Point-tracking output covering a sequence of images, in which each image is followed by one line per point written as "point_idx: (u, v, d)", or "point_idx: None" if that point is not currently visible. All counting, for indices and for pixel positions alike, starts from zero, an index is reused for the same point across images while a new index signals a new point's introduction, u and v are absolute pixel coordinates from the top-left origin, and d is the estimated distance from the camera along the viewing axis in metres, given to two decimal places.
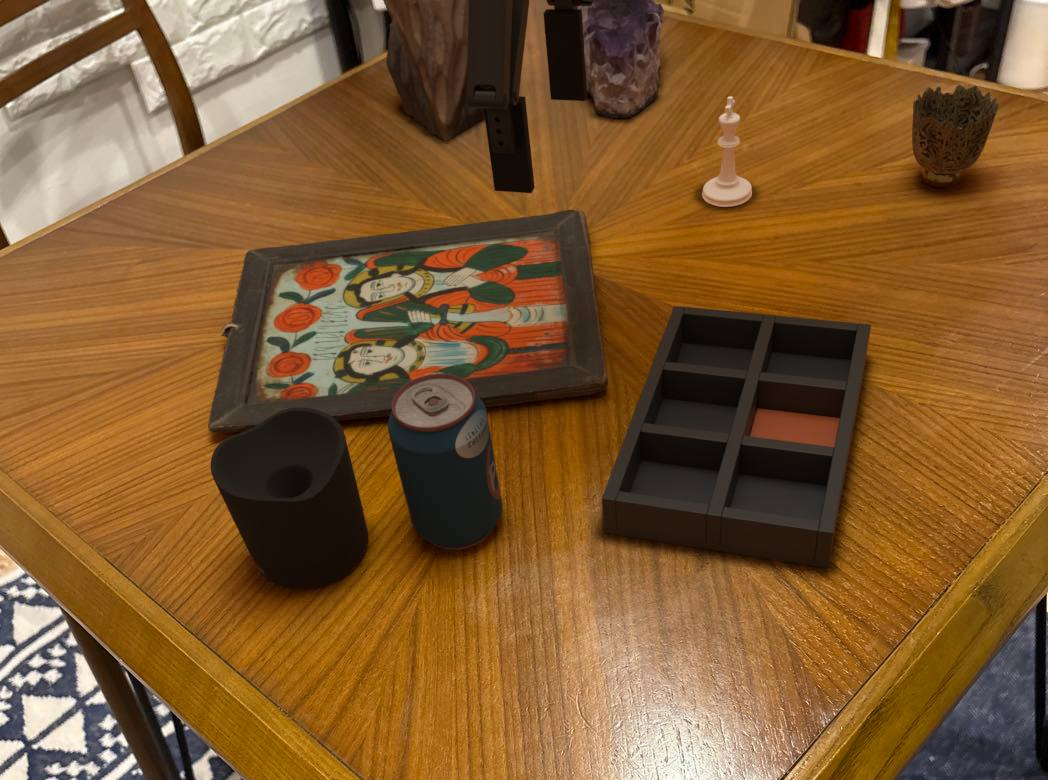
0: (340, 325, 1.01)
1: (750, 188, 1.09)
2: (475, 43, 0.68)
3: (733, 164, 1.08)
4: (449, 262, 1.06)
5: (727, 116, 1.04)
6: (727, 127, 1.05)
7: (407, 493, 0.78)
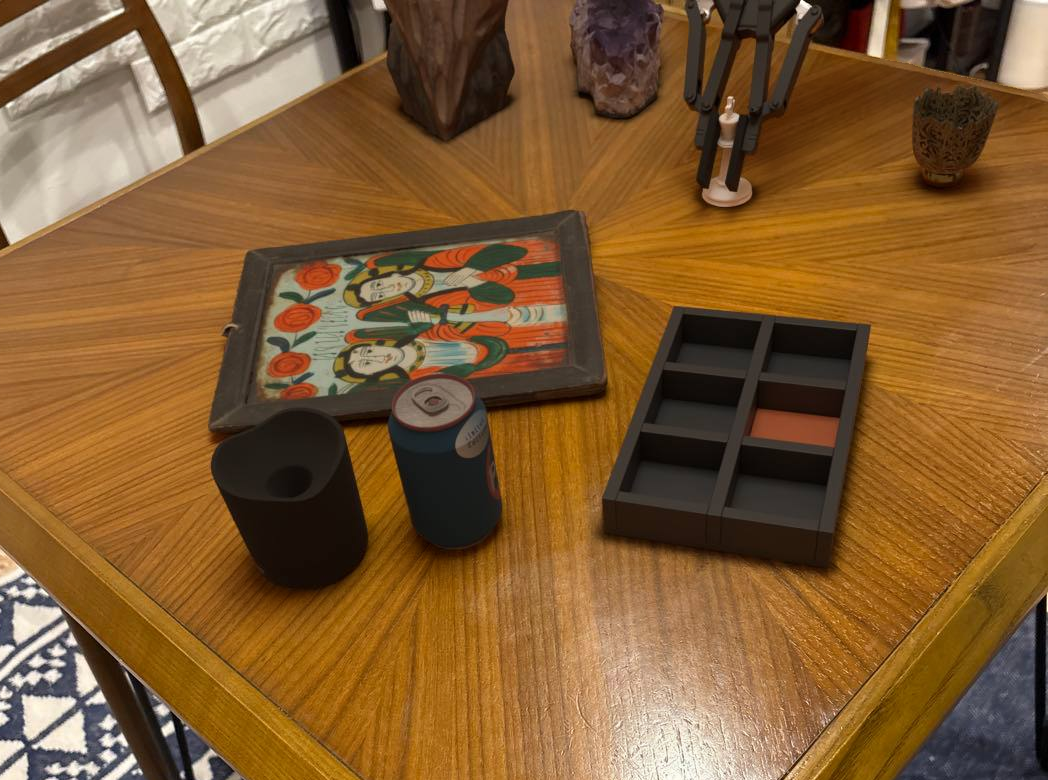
0: (340, 325, 1.01)
1: (750, 188, 1.09)
2: None
3: None
4: (449, 262, 1.06)
5: (727, 116, 1.04)
6: (727, 127, 1.05)
7: (407, 493, 0.78)
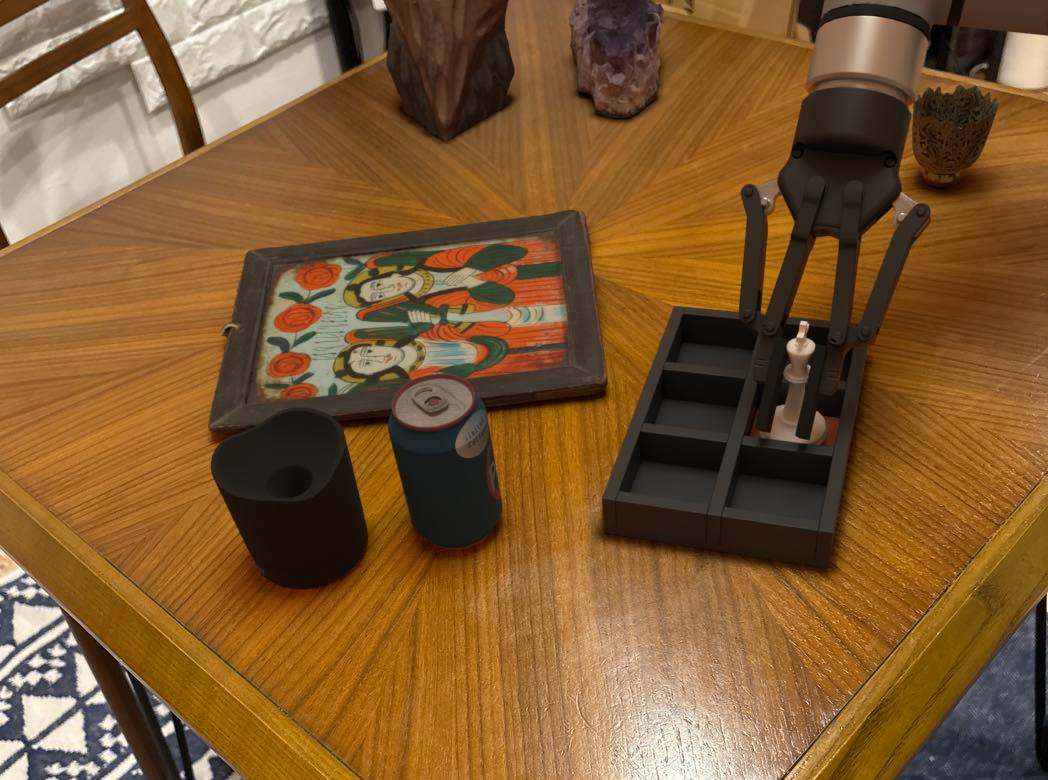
0: (340, 325, 1.01)
1: (824, 427, 0.82)
2: None
3: None
4: (449, 262, 1.06)
5: (799, 345, 0.77)
6: (798, 359, 0.78)
7: (407, 493, 0.78)
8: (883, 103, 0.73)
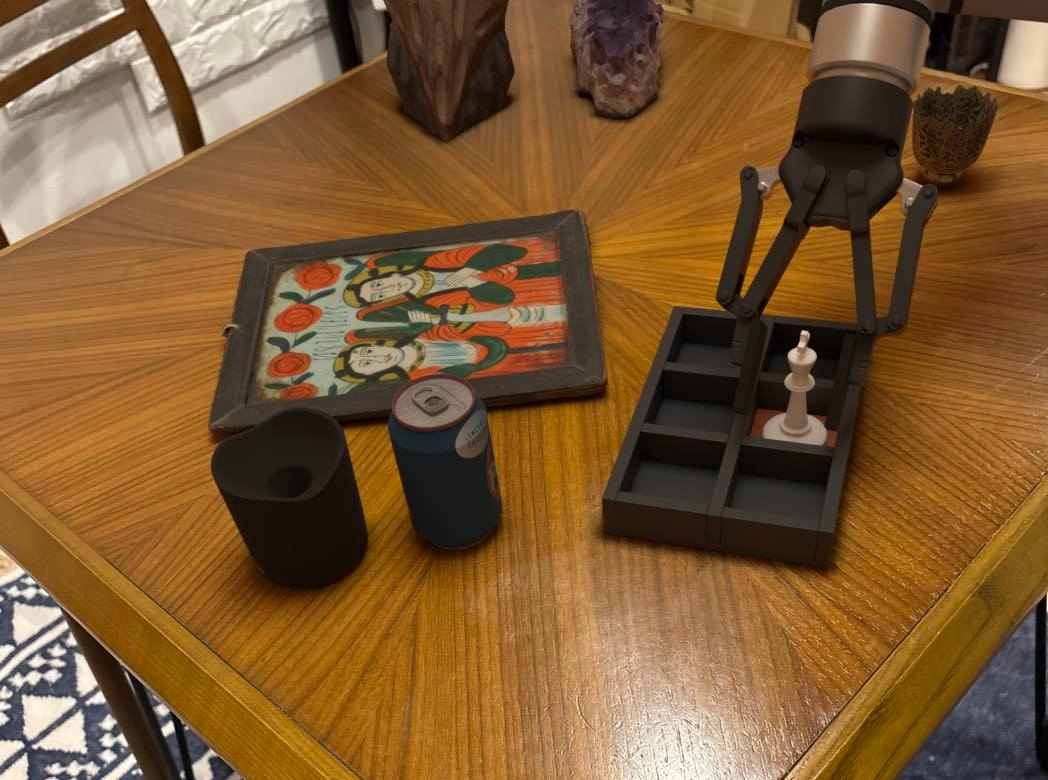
0: (340, 325, 1.01)
1: (825, 435, 0.83)
2: None
3: (804, 408, 0.81)
4: (449, 262, 1.06)
5: (800, 354, 0.78)
6: (799, 369, 0.78)
7: (407, 493, 0.78)
8: (885, 91, 0.73)
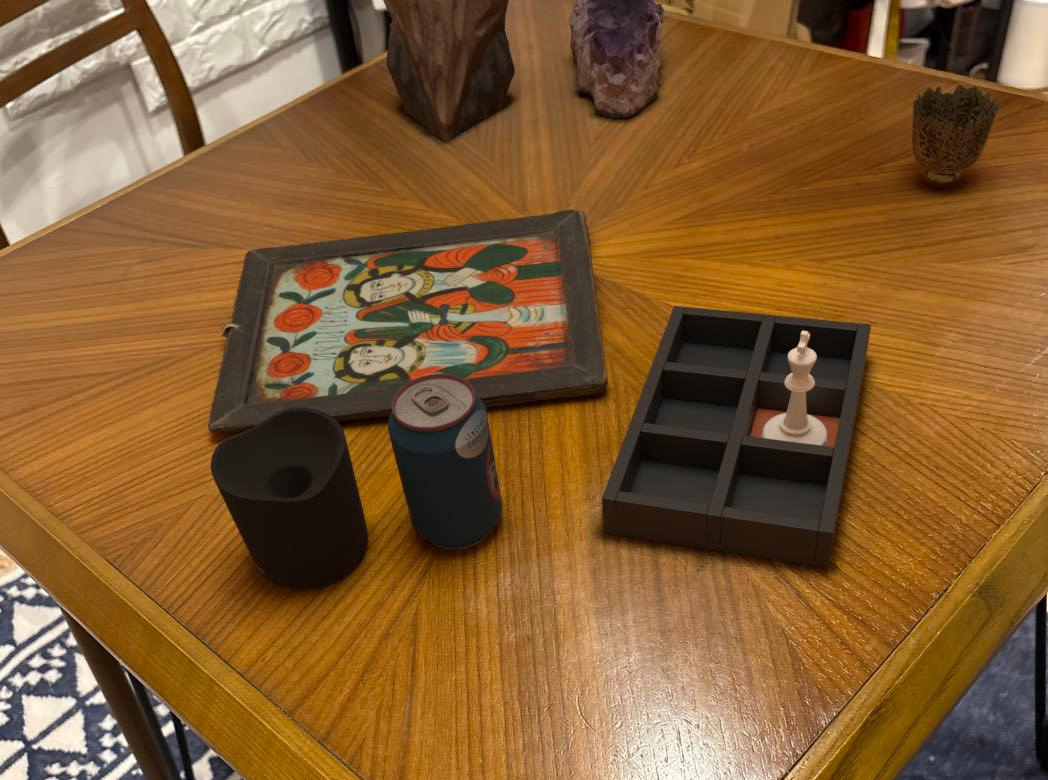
0: (340, 325, 1.01)
1: (825, 435, 0.83)
2: None
3: (804, 408, 0.81)
4: (449, 262, 1.06)
5: (800, 355, 0.78)
6: (799, 369, 0.78)
7: (407, 493, 0.78)
8: None
